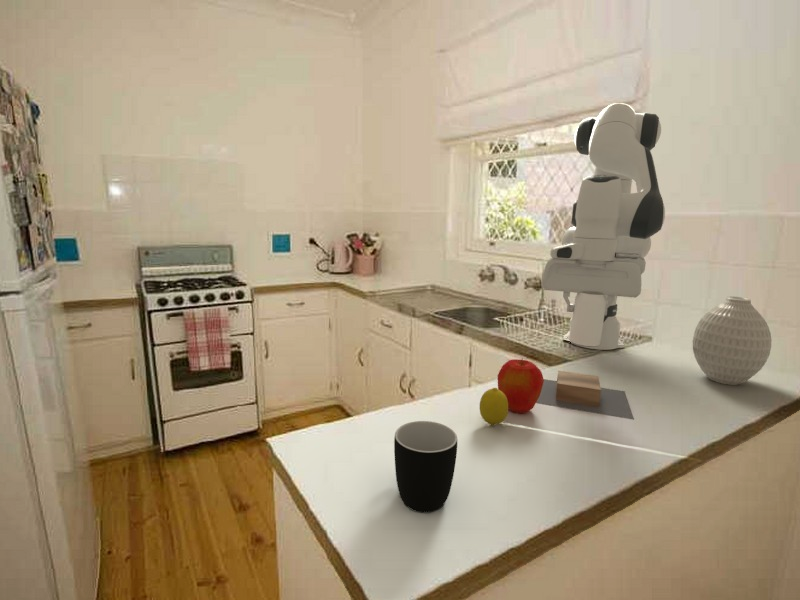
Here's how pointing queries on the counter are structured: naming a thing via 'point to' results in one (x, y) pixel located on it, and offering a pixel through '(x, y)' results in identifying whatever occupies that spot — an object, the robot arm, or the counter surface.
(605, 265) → the robot arm
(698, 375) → the counter surface
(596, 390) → the plinth
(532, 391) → the apple
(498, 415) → the lemon
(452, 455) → the mug
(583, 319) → the can
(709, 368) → the vase
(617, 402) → the mat
